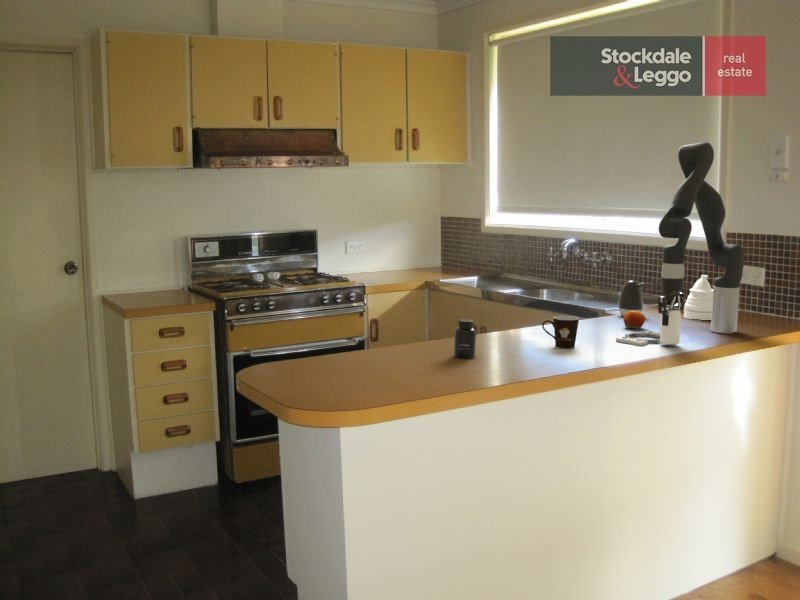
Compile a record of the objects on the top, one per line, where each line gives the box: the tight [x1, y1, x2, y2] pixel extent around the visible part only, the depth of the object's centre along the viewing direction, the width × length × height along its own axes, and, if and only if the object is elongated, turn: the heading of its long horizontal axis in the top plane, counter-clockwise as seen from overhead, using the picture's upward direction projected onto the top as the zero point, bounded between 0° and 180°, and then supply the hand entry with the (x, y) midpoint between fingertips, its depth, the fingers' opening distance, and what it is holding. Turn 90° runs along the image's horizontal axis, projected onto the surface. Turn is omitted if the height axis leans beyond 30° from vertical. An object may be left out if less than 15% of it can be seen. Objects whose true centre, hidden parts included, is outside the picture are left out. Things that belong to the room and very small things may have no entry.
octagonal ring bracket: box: [615, 330, 662, 347], centre depth 302 cm, size 22×13×1 cm, turn 133°
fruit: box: [623, 311, 646, 330], centre depth 324 cm, size 8×8×8 cm
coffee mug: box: [541, 315, 580, 350], centre depth 289 cm, size 12×9×10 cm
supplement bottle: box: [453, 318, 477, 360], centre depth 271 cm, size 7×7×12 cm
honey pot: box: [683, 274, 713, 321], centre depth 348 cm, size 13×13×18 cm
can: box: [659, 308, 682, 346], centre depth 291 cm, size 6×6×12 cm
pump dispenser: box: [617, 279, 646, 317], centre depth 350 cm, size 10×10×15 cm
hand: (670, 324), depth 291 cm, fingers closed on can, 6 cm apart
